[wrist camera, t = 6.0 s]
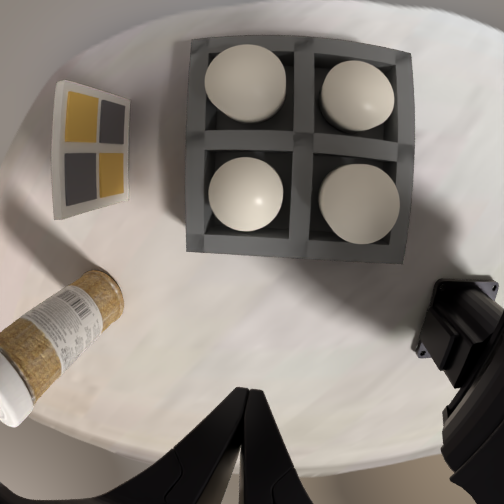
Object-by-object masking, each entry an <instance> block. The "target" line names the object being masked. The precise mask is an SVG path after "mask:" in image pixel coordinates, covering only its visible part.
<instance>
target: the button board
mask: <svg viewBox="0 0 504 504" xmlns="http://www.w3.org/2000/svg"><path fill="white" fill-rule="evenodd" d="M245 44H249V45H257V46H261V47H263V48H266V49H267V50H269V51H271V52H272V53H274V54H275V55H276V56H277V57H278V59H279V60H280V61H281V63H282V65H283V67H284V70H285V74H286V97H285V101H284V103H283V105H282V107H281V109H280V110H279V111H278V112H277V113H276V114H275V115H274V116H273V117H272V118H270V119H268V120H266V121H264V122H260V123H256V124H245V123H240V122H237V121H235V120H233V119H231V118H229V117H228V116H227V115H226V114H225V113H223V112H222V111H221V110H220V109H218V108H217V107H216V106H215V105H214V104H213V103H212V102H211V100H210V99H209V97H208V95H207V93H206V90H205V75H206V71H207V69H208V67H209V65H210V63H211V62H212V61H213V59H214V58H215V57H216V56H217V55H219V54H220V53H221V52H223V51H224V50H226V49H228V48H230V47H234V46H237V45H245ZM353 60H355V61H362V62H365V63H368V64H370V65H373V66H374V67H376V68H377V69H379V70H380V71H381V72H382V73H383V74H384V75H385V76H386V78H387V79H388V81H389V82H390V84H391V86H392V89H393V93H394V107H393V110H392V112H391V114H390V116H389V117H388V119H387V120H386V121H384V122H383V123H382V124H380V125H378V126H376V127H373V128H371V129H369V130H366V131H364V132H361V133H346V132H343V131H340V130H338V129H336V128H335V127H333V126H332V125H331V124H330V123H329V122H328V121H327V120H326V119H325V118H324V116H323V114H322V112H321V110H320V106H319V93H320V90H321V88H322V85H323V83H324V81H325V79H326V76H327V75H328V73H329V72H330V70H331V69H332V68H333V67H334V66H336V65H338V64H340V63H342V62H345V61H353ZM414 152H415V106H414V85H413V71H412V60H411V53H407V52H403V51H399V50H395V49H390V48H386V47H381V46H376V45H371V44H365V43H359V42H352V41H345V40H338V39H329V38H319V37H306V36H287V35H245V36H225V37H213V38H202V39H194V40H192V42H191V53H190V66H189V81H188V98H187V120H186V156H185V214H186V252H199V253H216V254H232V255H249V256H266V257H282V258H300V259H317V260H334V261H352V262H370V263H387V264H403V260H404V254H405V248H406V241H407V234H408V226H409V218H410V209H411V199H412V188H413V173H414ZM241 157H249V158H255V159H259V160H262V161H264V162H266V163H268V164H270V165H271V166H272V167H273V168H274V169H275V170H276V171H277V172H278V174H279V176H280V178H281V180H282V183H283V199H282V204H281V207H280V210H279V212H278V214H277V215H276V217H275V218H274V219H273V220H272V221H271V222H270V223H269V224H267V225H266V226H264V227H262V228H260V229H257V230H253V231H239V230H235V229H232V228H230V227H228V226H226V225H225V224H223V223H222V222H221V221H220V220H219V219H218V218H217V217H216V215H215V214H214V212H213V210H212V208H211V206H210V202H209V186H210V182H211V179H212V177H213V175H214V174H215V172H216V171H217V170H218V169H219V168H220V167H221V166H222V165H223V164H225V163H226V162H228V161H230V160H233V159H236V158H241ZM348 164H367V165H372V166H375V167H377V168H379V169H381V170H382V171H384V172H385V173H386V174H387V175H388V176H389V177H390V178H391V179H392V181H393V182H394V184H395V186H396V188H397V191H398V194H399V199H400V209H399V214H398V218H397V220H396V223H395V224H394V226H393V228H392V229H391V230H390V232H389V233H388V234H387V235H385V236H384V237H383V238H381V239H380V240H378V241H375V242H373V243H369V244H354V243H351V242H348V241H346V240H344V239H342V238H341V237H339V236H338V235H337V234H336V233H335V232H334V231H333V230H332V228H331V227H330V226H329V224H328V223H327V221H326V220H325V219H324V217H323V215H322V214H321V211H320V208H319V204H318V192H319V188H320V185H321V183H322V181H323V179H324V178H325V177H326V175H327V174H328V173H329V172H331V171H332V170H333V169H335V168H337V167H339V166H342V165H348Z"/></svg>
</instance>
